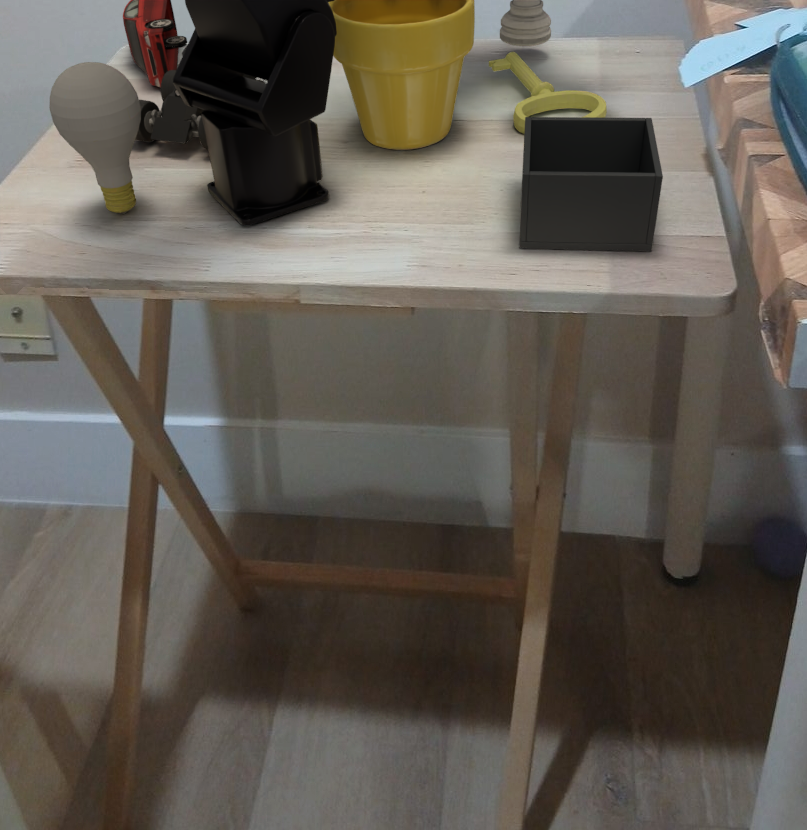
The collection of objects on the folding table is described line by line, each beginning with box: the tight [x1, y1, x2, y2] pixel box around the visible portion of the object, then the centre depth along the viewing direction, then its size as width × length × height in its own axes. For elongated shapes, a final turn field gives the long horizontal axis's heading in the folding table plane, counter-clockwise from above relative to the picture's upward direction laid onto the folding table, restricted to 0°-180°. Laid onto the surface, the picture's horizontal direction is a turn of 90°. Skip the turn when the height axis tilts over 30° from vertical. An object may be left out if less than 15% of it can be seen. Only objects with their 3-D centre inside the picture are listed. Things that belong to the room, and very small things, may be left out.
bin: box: [518, 116, 664, 252], centre depth 58 cm, size 8×8×5 cm
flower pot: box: [328, 0, 476, 151], centre depth 68 cm, size 10×10×10 cm
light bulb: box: [49, 61, 141, 215], centre depth 60 cm, size 6×6×10 cm
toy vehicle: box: [135, 45, 267, 151], centre depth 72 cm, size 8×15×9 cm, turn 159°
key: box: [488, 51, 608, 135], centre depth 72 cm, size 7×12×2 cm, turn 36°
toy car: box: [122, 0, 188, 89], centre depth 83 cm, size 6×15×5 cm
